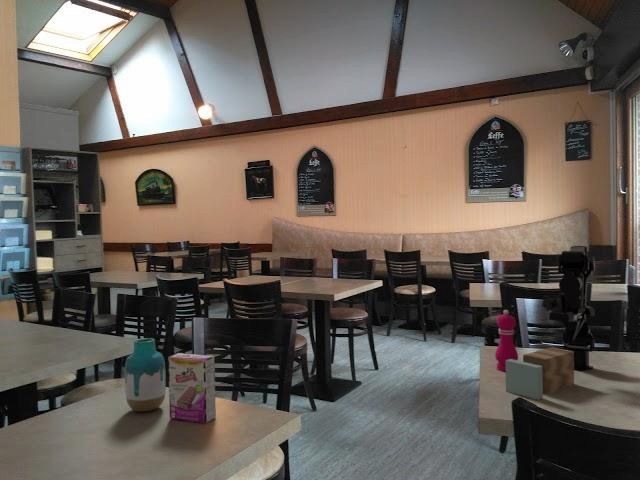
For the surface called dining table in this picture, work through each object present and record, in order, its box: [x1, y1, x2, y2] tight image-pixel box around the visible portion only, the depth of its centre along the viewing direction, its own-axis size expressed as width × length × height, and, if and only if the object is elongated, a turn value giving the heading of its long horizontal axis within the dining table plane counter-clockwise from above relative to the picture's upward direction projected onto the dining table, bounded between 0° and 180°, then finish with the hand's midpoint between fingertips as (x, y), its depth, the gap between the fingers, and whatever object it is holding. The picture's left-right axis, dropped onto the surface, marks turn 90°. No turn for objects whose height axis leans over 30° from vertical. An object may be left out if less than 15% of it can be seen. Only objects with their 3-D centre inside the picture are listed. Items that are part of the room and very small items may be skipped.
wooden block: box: [522, 346, 575, 395], centre depth 154 cm, size 15×7×10 cm, turn 124°
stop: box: [505, 359, 544, 401], centre depth 147 cm, size 2×10×9 cm, turn 35°
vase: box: [124, 337, 167, 413], centre depth 141 cm, size 11×11×19 cm
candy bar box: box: [167, 352, 217, 424], centre depth 133 cm, size 11×5×16 cm, turn 71°
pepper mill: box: [494, 309, 519, 373], centre depth 172 cm, size 7×7×20 cm
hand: (571, 340), depth 162 cm, fingers closed
